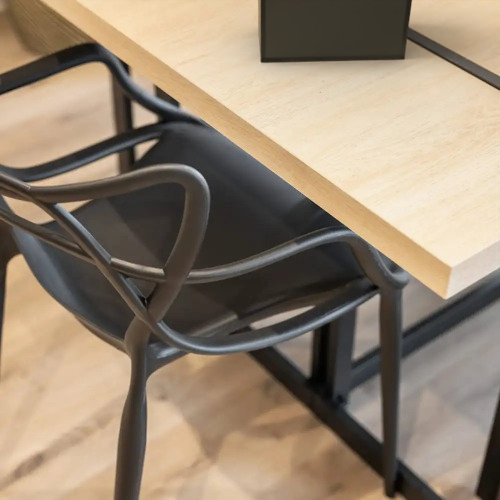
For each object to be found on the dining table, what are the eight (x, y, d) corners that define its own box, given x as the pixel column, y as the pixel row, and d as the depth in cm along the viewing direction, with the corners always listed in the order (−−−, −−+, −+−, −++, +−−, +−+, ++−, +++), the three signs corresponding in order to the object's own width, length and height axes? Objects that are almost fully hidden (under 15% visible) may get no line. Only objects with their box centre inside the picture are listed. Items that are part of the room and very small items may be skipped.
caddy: (392, 23, 95) (400, -40, 90) (404, 59, 89) (413, -7, 84) (258, 26, 95) (257, -37, 90) (260, 62, 89) (260, -4, 83)
